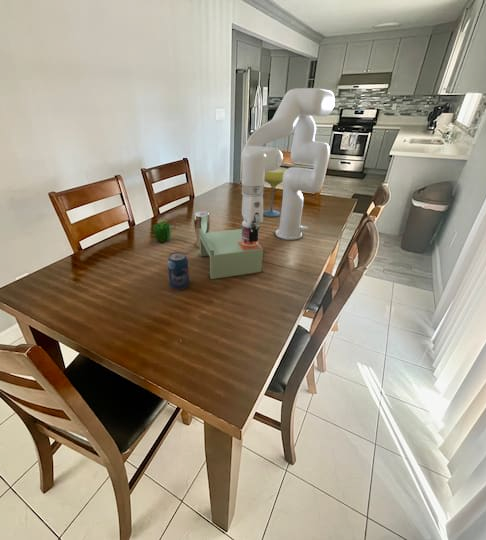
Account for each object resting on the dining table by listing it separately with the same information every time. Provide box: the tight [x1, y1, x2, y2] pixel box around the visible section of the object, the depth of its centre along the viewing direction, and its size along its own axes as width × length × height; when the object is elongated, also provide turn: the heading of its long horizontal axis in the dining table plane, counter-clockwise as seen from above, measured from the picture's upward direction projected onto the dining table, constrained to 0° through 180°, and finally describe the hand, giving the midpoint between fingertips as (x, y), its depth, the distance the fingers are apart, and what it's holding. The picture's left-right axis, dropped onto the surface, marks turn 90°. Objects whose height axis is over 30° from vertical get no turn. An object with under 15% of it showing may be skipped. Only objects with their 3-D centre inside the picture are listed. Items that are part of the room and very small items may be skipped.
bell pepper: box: [152, 219, 172, 243], centre depth 136 cm, size 8×8×10 cm
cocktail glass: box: [263, 165, 291, 218], centre depth 163 cm, size 18×18×25 cm
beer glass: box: [193, 210, 211, 249], centre depth 130 cm, size 7×7×15 cm
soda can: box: [167, 251, 190, 291], centre depth 103 cm, size 7×7×12 cm
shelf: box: [199, 228, 264, 280], centre depth 117 cm, size 20×20×12 cm
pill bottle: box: [241, 215, 259, 246], centre depth 108 cm, size 6×6×11 cm
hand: (249, 236), depth 109 cm, fingers closed on pill bottle, 6 cm apart
